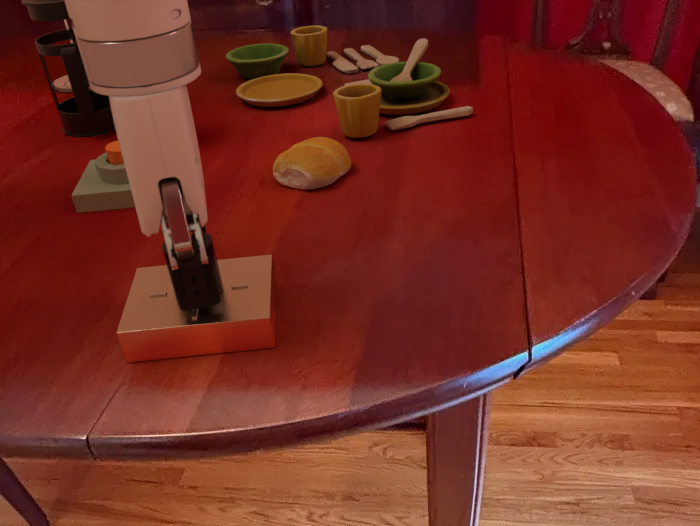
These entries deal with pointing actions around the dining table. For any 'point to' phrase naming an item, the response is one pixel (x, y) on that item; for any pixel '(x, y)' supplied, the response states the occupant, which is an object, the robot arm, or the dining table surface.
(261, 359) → the dining table surface
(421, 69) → the tableware set
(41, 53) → the french press
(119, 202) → the control box
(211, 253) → the hob knob
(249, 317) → the panel
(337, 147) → the bread roll
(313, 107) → the dining table surface
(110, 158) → the button
